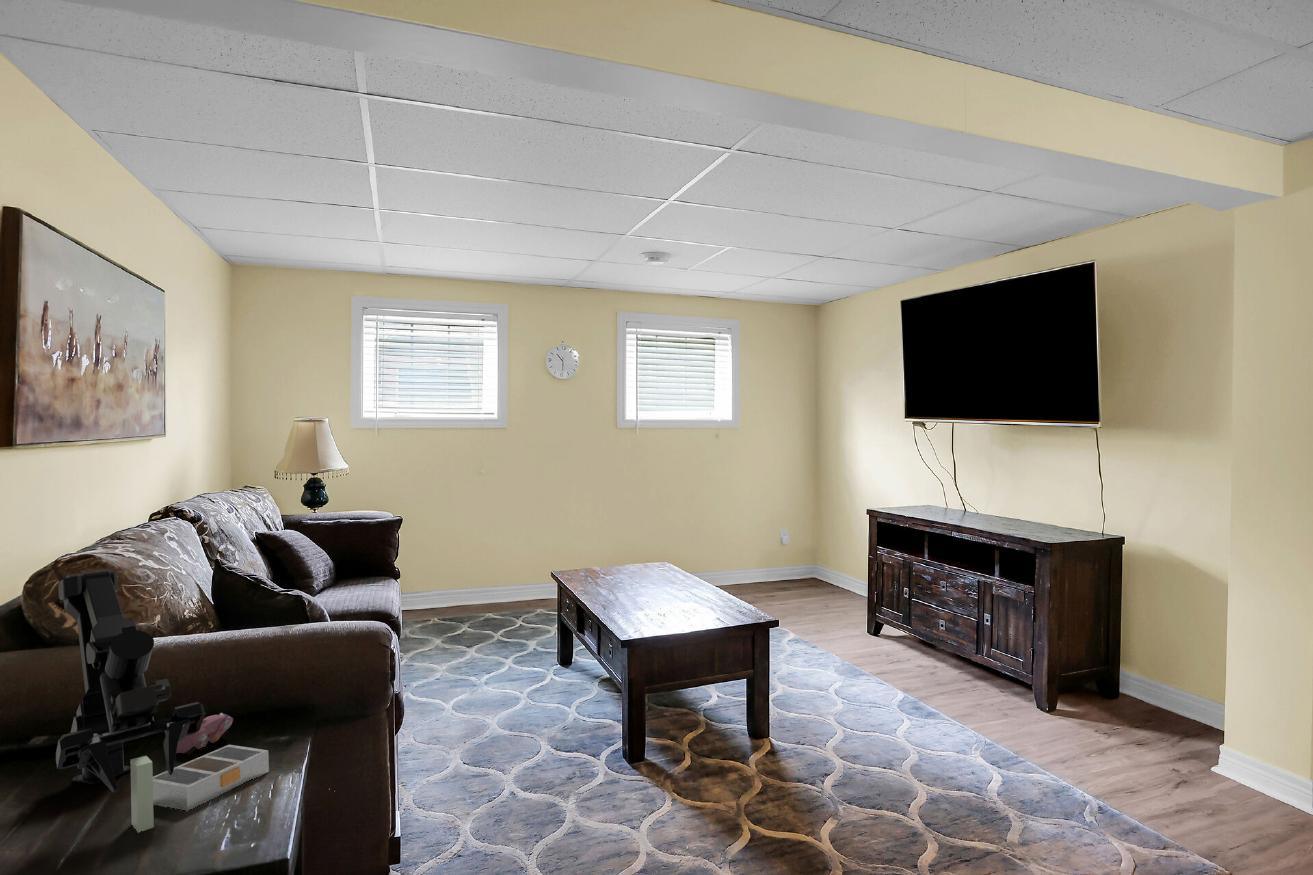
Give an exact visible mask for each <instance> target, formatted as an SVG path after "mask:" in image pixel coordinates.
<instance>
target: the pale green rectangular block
mask: <svg viewBox="0 0 1313 875" xmlns="http://www.w3.org/2000/svg"><path fill="white" fill-rule="evenodd" d="M129 760H130V767H131V771H130V801H131V802H130V803H131V805H130V806H131V807H130V808H131V814H130V815H131V826H132V825H133V826H132V827H133V829H134V830H135V829H136V830H135V831H136V832H137V833H138V834H139V833H141V831H142V832H144V831H147V830H150V829H153V828H155V825H154V821H155V820H154V805H153V777H154V775H153V774H154V773H153V761H152V760H151V759H150V758H149V757H148V756H147V755H142V756H138V757H135V758H132V759H129Z"/></svg>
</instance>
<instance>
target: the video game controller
mask: <svg viewBox="0 0 1313 875" xmlns="http://www.w3.org/2000/svg"><path fill="white" fill-rule="evenodd" d="M233 722H234V718H233V717H231V716H230V715H228V714H227V713H226V714H225V713H223V712H220V713H219V714H213V715H210V716H206V717H204V719H203V722H202V725H201V728H200V730H199V731H198V732H196V733H194V734H190V735H187V736H186V737H185V739H184V740H183V741H180V742H178V745H177V751H176V754H177V753H182V754H185V753H187V752H188V751H189V750H191V749H192V748H193V747H195V748H196V749H198V750H199V749H200V748H202V747H204V748H205V747H206V746H207V744H208V742H210V743H212V744H214V743H216V742H217V741H219V740H220V738H221V737H222V735H223V734H224V733H225V732H226V731H227V730H228V729H229V728H231V726H232V724H233ZM202 749H203V748H202ZM200 750H201V749H200Z"/></svg>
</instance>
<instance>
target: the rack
mask: <svg viewBox="0 0 1313 875" xmlns="http://www.w3.org/2000/svg"><path fill="white" fill-rule="evenodd" d="M269 757H270V756H269V750H267V749H262V748H254V747H248V746H242V745H241V746H240V745H233V744H227V745H225V746H223V747H220V748H218V749H215V750H214V751H211V752H208V753H206V754H204V755H201V756H200V757H199V756H198V757H196V758H194V759H192V760H190V761H187V762H185V763H182V764H180V765H178V766H174V770H173V774H172V775H169V773H168V770H165V771H163V772H161V773H159V774H157V775H153V806H157V805H158V807H163V808H167V807H170V808H169V809H172V808H175V809H174V810H177V809H183V810H186V811H185V812H189V811H188V810H189V809H192V810H193V808H194V809H196V808H198V807H199V806H198V805H200V806H202V805H204V804H205V803H206V804H207V803H208V802H210V801H211V800H210V799H212V800H214V799H216V798H218V797H220V796H221V795H220V794H222V795H223V793H224V792H226V793H228V792H229V791H228V790H230V789H232V788H234V787H236V786H239V785H241V784H243V783H244V782H246V781H249V780H251V779H253V780H255V779H257V778H259V777H261V776H263V775H266V774H267V773H269V772H270V766H269V764H270V762H269V760H270V759H269ZM256 777H257V778H256ZM254 778H255V779H254ZM251 781H252V780H251ZM249 782H250V781H249ZM243 785H244V784H243ZM241 786H242V785H241ZM239 787H240V786H239ZM227 791H228V792H227ZM230 791H231V790H230ZM224 794H225V793H224ZM219 795H220V796H219ZM217 796H218V797H217ZM215 797H216V798H215ZM213 798H214V799H213ZM209 800H210V801H209ZM207 801H208V802H207ZM203 803H204V804H203ZM201 804H202V805H201ZM197 806H198V807H197ZM195 807H196V808H195ZM176 808H177V809H176Z"/></svg>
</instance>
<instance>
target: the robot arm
mask: <svg viewBox="0 0 1313 875" xmlns="http://www.w3.org/2000/svg"><path fill="white" fill-rule="evenodd" d="M117 592H119V578H118V572H114V571H113V570H109V569H104V570H94V571H87V572H82V573H74V574H73V573H72V574H67V575H66V578H63V579H62V580H60V581H59V582H58V598H59V600H60V601H63V606H64V611H65V612H66V613H67V614H68V615H69V616H71V618H73V619H74V620H75V621H76V624H77V632H78V640H79V648H80V658H81V667H82V676H83V682H84V690H85V694H84V696H83V697H82V700H81V701H80V703H79V705H78V707H77V710H76V716H74V717H73V721H72V724H71V730H70V732H69V733H65V734H62V735H61V736H60V738H59V739H58V741H57V746H56V752H55V762H56V763H55V764H56V769H57V770H65V769H68V768H72V767H76V766H77V767H76V768H77V770H78V769H79V770H81V772H82V773H81V774H79V775H76V776H74V777H73V778H72V781H73V782H78V783H81V784H82V783H83V784H87V785H98V784H102V783H103V784H104V785H105V786H106V787H108V789H109V790H110V791H111V792H112V793H116V792H117V788H118V786H117V779H116V777H118V776H120V775H122V774H125V773H128V772H131V765H129V766H128V765H124V764H125V762H124V742H128V741H132V740H136V739H139V738H143V737H149V736H151V735H154V734H159V733H162V732H164V733H165V737H164V741H163V751H164V757H165V758H164V759H165V765H166V771H168V773H169V775H172V774H173V770H174V768H175V764H176V763H175V762H176V757H177V753H176V751H177V745H178V742H180V741H183V740H184V739H185V737H186V736H187V735H190V734H194V733H196V732H198V731H199V730H200V728H201V725H202V722H203V719H205V716H206V710H205V707H204V704H202V703H201V702H198V701H195V702H192V703H187V704H183V705H179V706H175V707H174V708H173V710H172V714H171V716H168V717H166V718H160V719H157V720H155V718H154V717H156V716H157V714H158V706H159V703H160V702H161V703H162V702H165V701H168V700H169V699H171V698H172V691H171V690H172V689H171V685H170V684H171V683H170V680H169V678H164V679H160V680H155V681H154V683H153V684H152V685H149V686H147V683H146V679H145V674H144V673H146V672H147V670H148V667H149V663H150V660H151V656H152V653H153V650H154V647H155V640H154V638H153V637H152V636H151V634H149V633H148V632H146V631H143V630H139V628H138V625H137V623H136V622H135V621H132V620H130V619H127V618H125V615H124V613H123V609H122V607H121V604H120V601H119V597H118V595H117Z"/></svg>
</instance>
